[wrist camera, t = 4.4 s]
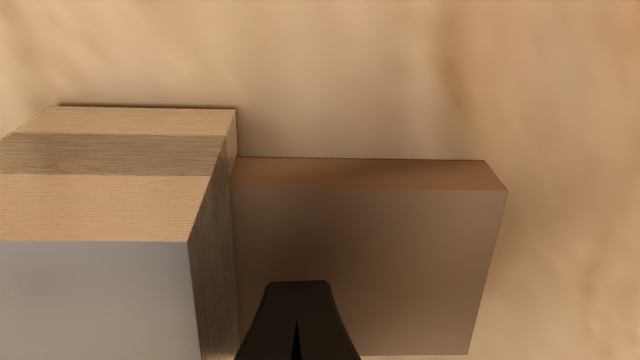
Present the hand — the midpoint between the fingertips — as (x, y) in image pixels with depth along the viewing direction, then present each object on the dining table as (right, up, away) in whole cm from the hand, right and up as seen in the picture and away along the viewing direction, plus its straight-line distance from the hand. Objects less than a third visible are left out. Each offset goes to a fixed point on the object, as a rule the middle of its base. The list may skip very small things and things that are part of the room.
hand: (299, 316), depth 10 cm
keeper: (-4, +1, +2) cm, 4 cm away
